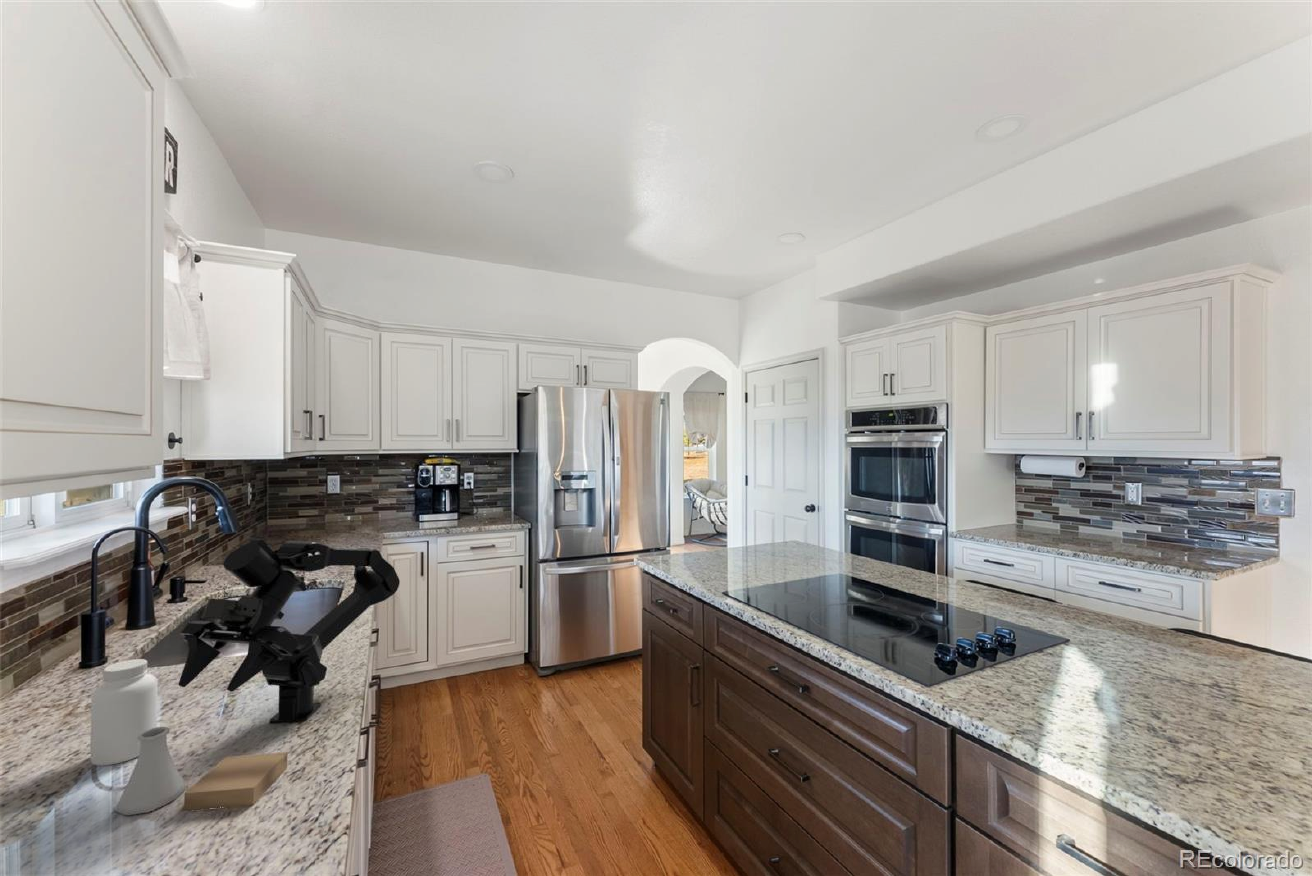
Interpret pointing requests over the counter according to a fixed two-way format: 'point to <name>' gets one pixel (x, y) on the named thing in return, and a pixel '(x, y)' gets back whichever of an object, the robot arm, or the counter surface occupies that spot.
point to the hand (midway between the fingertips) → (205, 688)
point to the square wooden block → (236, 781)
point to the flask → (151, 776)
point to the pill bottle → (122, 712)
